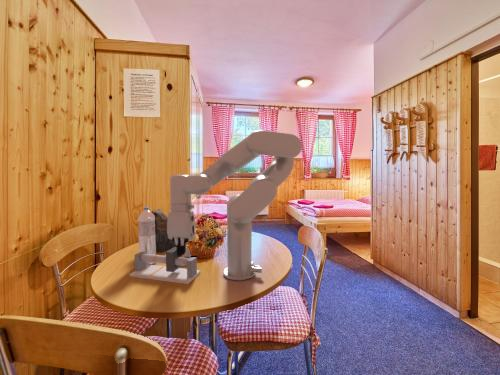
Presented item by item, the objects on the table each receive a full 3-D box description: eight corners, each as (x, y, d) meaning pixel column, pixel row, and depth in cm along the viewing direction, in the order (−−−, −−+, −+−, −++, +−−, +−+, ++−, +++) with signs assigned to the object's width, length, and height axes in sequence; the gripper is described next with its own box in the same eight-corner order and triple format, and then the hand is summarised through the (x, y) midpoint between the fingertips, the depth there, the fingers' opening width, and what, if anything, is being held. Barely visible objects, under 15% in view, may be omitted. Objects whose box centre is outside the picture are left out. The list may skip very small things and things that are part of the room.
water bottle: (150, 267, 105) (148, 208, 103) (136, 265, 106) (134, 208, 104) (159, 261, 112) (157, 206, 110) (145, 260, 113) (144, 205, 111)
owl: (158, 253, 121) (156, 213, 120) (142, 249, 128) (141, 210, 127) (178, 247, 132) (177, 209, 130) (163, 242, 139) (162, 207, 137)
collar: (181, 265, 99) (181, 247, 99) (173, 272, 93) (172, 252, 93) (175, 265, 100) (174, 246, 99) (166, 271, 94) (165, 252, 94)
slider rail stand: (200, 272, 100) (200, 254, 99) (188, 284, 90) (187, 263, 89) (146, 266, 106) (146, 249, 105) (129, 276, 96) (129, 257, 96)
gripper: (203, 206, 96) (203, 253, 97) (168, 204, 99) (169, 249, 101) (194, 210, 88) (194, 260, 90) (157, 207, 92) (158, 256, 93)
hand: (181, 254), depth 95 cm, fingers closed
